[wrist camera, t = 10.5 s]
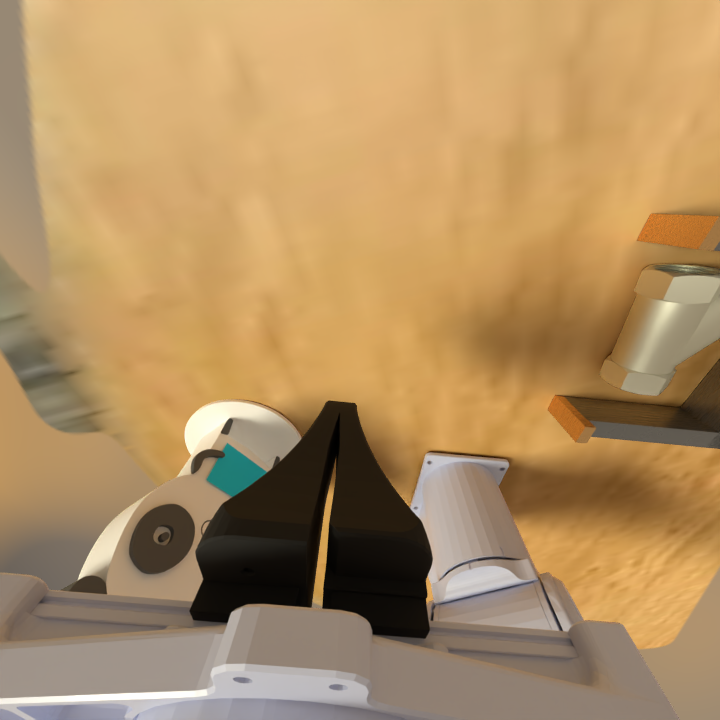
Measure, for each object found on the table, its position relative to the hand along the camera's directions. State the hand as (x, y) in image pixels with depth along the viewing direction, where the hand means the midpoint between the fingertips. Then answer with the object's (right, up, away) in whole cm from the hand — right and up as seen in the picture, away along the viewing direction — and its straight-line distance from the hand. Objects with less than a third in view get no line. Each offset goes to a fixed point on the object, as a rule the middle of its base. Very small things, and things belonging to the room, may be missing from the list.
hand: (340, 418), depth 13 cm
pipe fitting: (+22, +6, +7) cm, 24 cm away
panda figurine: (-10, -6, +15) cm, 18 cm away
